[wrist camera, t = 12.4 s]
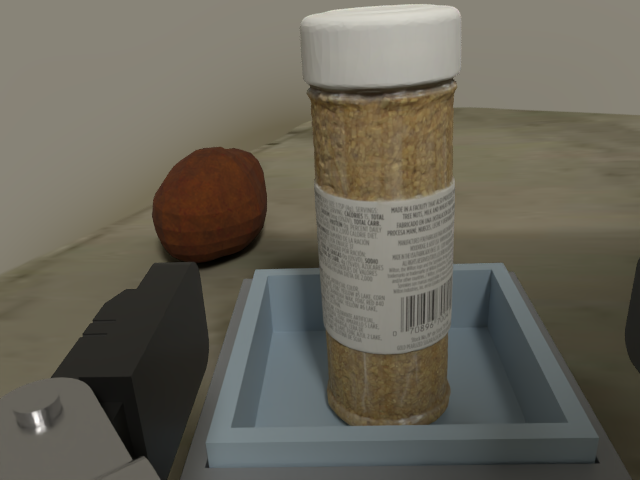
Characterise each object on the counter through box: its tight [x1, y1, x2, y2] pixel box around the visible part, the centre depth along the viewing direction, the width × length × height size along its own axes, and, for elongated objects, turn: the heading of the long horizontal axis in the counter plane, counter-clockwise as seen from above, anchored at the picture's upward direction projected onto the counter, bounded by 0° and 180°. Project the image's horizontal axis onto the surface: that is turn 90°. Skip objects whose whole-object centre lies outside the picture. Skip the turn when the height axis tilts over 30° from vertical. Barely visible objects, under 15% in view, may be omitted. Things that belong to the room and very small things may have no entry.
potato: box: [152, 147, 267, 263], centre depth 37 cm, size 7×9×6 cm
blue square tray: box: [180, 263, 632, 480], centre depth 22 cm, size 12×12×4 cm
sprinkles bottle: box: [300, 4, 461, 426], centre depth 20 cm, size 5×5×14 cm
